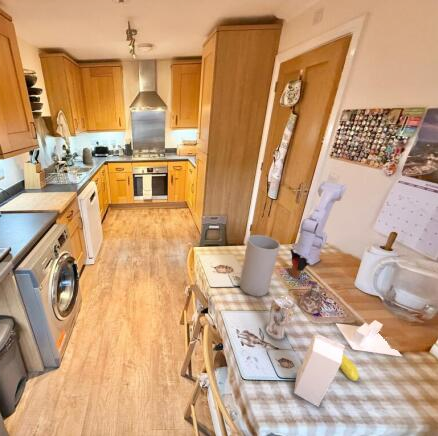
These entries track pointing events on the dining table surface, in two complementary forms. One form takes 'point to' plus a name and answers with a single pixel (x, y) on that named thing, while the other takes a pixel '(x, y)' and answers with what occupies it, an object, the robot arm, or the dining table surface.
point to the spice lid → (295, 262)
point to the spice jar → (295, 272)
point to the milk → (318, 369)
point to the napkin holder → (367, 338)
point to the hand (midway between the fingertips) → (297, 266)
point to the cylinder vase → (258, 264)
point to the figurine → (312, 299)
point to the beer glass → (280, 316)
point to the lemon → (349, 368)
